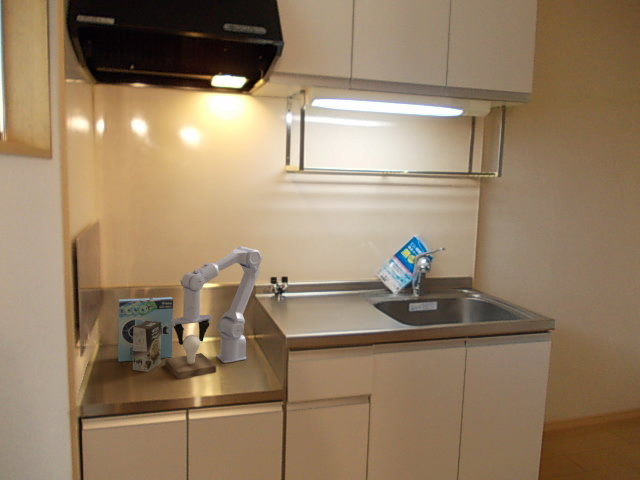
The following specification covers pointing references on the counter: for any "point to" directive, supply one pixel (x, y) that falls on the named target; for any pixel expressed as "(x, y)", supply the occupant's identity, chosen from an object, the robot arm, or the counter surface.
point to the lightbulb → (191, 347)
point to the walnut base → (190, 366)
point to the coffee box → (146, 346)
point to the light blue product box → (137, 313)
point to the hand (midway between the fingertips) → (190, 342)
